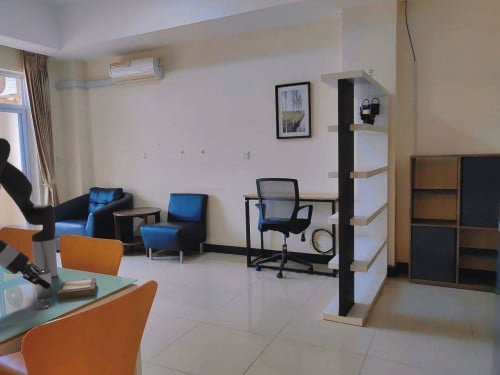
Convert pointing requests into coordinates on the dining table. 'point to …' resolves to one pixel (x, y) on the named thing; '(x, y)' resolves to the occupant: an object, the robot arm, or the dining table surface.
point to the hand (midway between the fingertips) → (49, 284)
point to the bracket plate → (42, 305)
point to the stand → (77, 289)
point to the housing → (41, 290)
